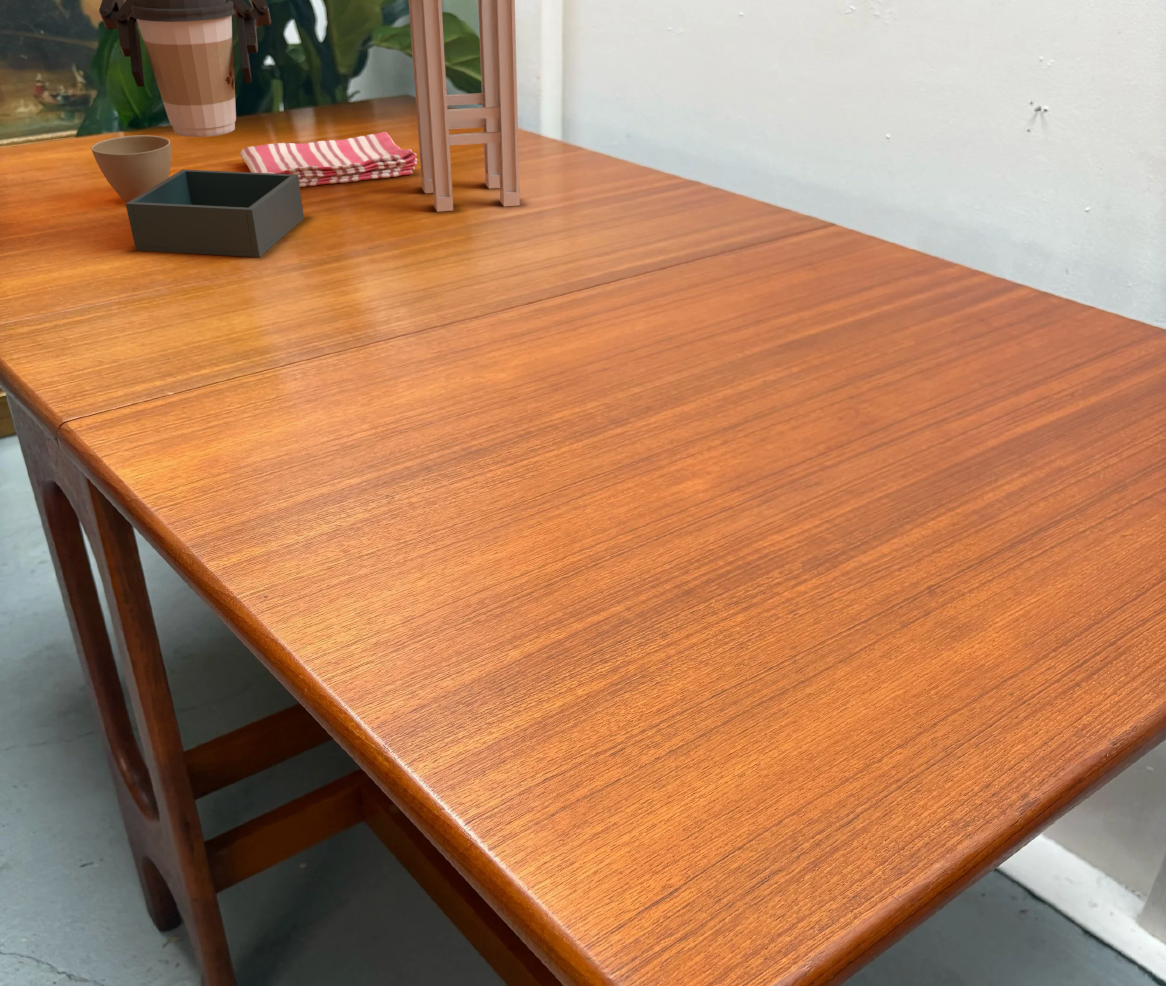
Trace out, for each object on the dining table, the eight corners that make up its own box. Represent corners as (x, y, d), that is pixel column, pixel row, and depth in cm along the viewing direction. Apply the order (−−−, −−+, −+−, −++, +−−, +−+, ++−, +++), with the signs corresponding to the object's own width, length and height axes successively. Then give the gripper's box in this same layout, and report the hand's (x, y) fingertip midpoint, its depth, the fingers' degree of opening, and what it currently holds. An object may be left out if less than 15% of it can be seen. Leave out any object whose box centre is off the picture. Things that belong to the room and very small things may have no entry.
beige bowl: (113, 189, 154) (101, 135, 150) (187, 187, 155) (176, 134, 151) (95, 210, 146) (82, 154, 142) (173, 208, 147) (162, 152, 143)
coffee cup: (259, 137, 128) (237, -8, 120) (157, 144, 125) (126, -4, 116) (248, 116, 137) (226, -21, 128) (152, 122, 134) (123, -17, 125)
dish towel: (421, 174, 162) (419, 149, 160) (262, 192, 153) (258, 166, 151) (386, 148, 174) (384, 125, 172) (238, 163, 166) (233, 139, 164)
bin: (135, 250, 133) (125, 203, 129) (190, 213, 145) (182, 169, 142) (259, 257, 131) (252, 209, 128) (304, 218, 144) (298, 174, 140)
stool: (538, 208, 148) (534, -96, 128) (424, 217, 144) (402, -95, 124) (510, 178, 160) (502, -104, 140) (405, 186, 157) (381, -103, 137)
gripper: (283, -68, 135) (301, 93, 131) (79, -66, 130) (92, 101, 127) (276, -117, 127) (295, 52, 124) (59, -116, 123) (73, 59, 120)
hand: (193, 77), depth 125 cm, fingers closed on coffee cup, 11 cm apart
